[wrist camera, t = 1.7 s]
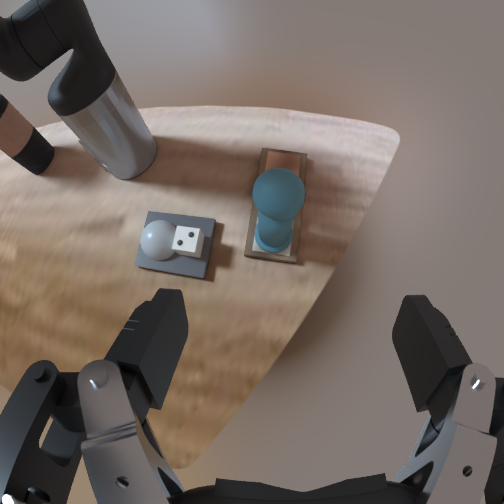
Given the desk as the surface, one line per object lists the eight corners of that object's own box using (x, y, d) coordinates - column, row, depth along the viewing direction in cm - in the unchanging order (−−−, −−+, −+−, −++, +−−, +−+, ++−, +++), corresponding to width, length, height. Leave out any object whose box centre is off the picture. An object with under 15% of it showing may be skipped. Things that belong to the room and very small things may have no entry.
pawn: (252, 250, 35) (245, 204, 21) (257, 215, 36) (255, 153, 22) (289, 255, 35) (307, 213, 21) (293, 220, 36) (311, 161, 22)
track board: (244, 256, 36) (244, 253, 35) (262, 152, 40) (262, 147, 39) (295, 263, 36) (296, 261, 34) (305, 158, 40) (307, 153, 38)
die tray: (143, 269, 38) (125, 260, 32) (155, 218, 40) (140, 202, 34) (207, 280, 37) (197, 273, 32) (218, 225, 39) (210, 210, 33)
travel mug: (38, 181, 42) (-23, 133, 22) (27, 167, 43) (-27, 123, 23) (60, 151, 43) (4, 96, 24) (48, 140, 44) (-2, 90, 25)
